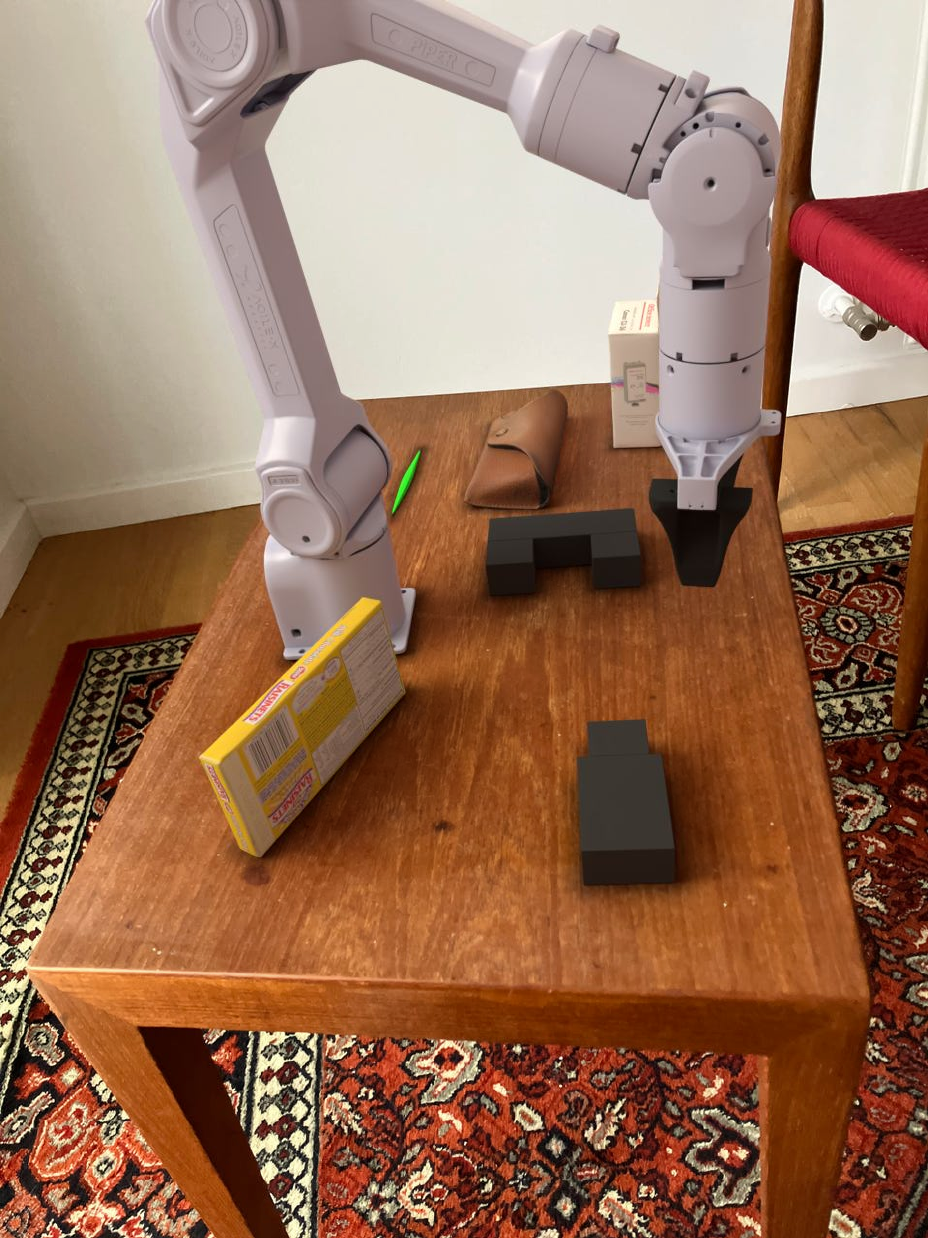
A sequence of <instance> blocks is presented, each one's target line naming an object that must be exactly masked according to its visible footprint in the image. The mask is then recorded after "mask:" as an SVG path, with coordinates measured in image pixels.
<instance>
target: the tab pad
mask: <svg viewBox="0 0 928 1238" xmlns="http://www.w3.org/2000/svg"><path fill="white" fill-rule="evenodd" d="M586 732H587V734H586V735H587V751H588V753H587V754H588V756H577V757H576V768H577V793H578V795H577V796H578V817H579V818H578V819H579V820H578V821H579V843H580V856H581V857H580V859H581V873H582V885H583V886H598V885H599V886H600V885H601V886H605V885H608V886H609V885H646V884H647V885H648V884H649V885H650V884H651V885H652V884H653V885H654V884H674V883H675V875H676V873H675V871H676V870H675V869H676V868H675V867H676V845H675V840H674V839H675V838H674V831H673V825H672V824H673V823H672V818H671V817H672V816H671V809H670V804H669V795H668V794H669V793H668V789H667V782H666V781H667V780H666V774H665V766H664V759H663V754H662V753H650V744H649V735H648V728H647V720H646V718H639V719H638V718H636V719H616V720H615V719H614V720H593V721H586Z"/></svg>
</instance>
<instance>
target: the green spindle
mask: <svg viewBox="0 0 928 1238" xmlns="http://www.w3.org/2000/svg"><path fill="white" fill-rule="evenodd" d="M421 451H422V447H420V449H419V450H418V452H417V453H416V455H415V456H414V459H413V460H412V461H411V463H410V465H409V467H408V468H407V470H406V472H405V474H404V475H403V478H402V480H401V482H400V485H399V488H398V492H397V495H396V498H395V500H394V505H393V507H392V512H391V516H390V518H392V517H393V515H394V514H395V512H396V511H397V509H398V507H399V506H400V504H401V503H402V501H403V499H404V497H405V495H406V493H407V491H408V489H409V487H410V485H411V484H412V480H413V478H414V475H415V472H416V469H417V465H418V462H419V458H420V454H421Z"/></svg>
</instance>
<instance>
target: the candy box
mask: <svg viewBox="0 0 928 1238" xmlns="http://www.w3.org/2000/svg"><path fill="white" fill-rule="evenodd" d="M406 693H407V692H406V688H405V685H404V681H403V677H402V674H401V670H400V667H399V663H398V660H397V655H396V654H395V652H394V648H393V644H392V641H391V637H390V633H389V630H388V626H387V622H386V618H385V615H384V611H383V607H382V603H381V601H380V600H375V599H370V598H365V597H362V598H361V600H360V601H359V602H357V603H356V604H355V605H354V606H353V607H352V608H351V609H350V610H349V611H348V612H347V613H346V614H345V615H344V616H343V617H342V618H341V619H340V620H339V621H338V622H337V623H336V624H335V625H334V626H333V627H332V628H331V629H330V630H329V631H328V632H327V633H326V634H325V635H324V636H323V637H322V638H321V639H320V640H319V641H318V642H317V643H316V644H315V645H314V646H313V647H312V648H311V649H310V650H309V651H308V652H307V653H306V654H304V655H303V656H302V657H301V658H300V659H297V660H296V662H295V663H294V664H293V665H292V666H291V667H289V668H288V670H286V672H285V673H284V674H282V676H281V677H279V678H278V679H277V680H276V682H275V683H273V684H272V685H271V686H270V687H269V688H268V690H267V691H265V692H264V693H263V694H262V695H261V696H260V697H259V698H258V699H257V700H255V702H254V703H252V705H251V706H250V707H249V708H248V709H247V710H246V711H245V712H244V713H243V714H242V715H241V716H240V717H239V718H238V719H236V721H234V722H233V724H231V725H230V726H229V727H228V728H227V729H226V730H225V731H224V732H223V733H222V734H221V735H220V736H219V737H218V738H217V739H216V740H215V741H214V742H213V743H212V744H211V745H210V746H209V747H208V748H207V749H205V750H204V752H203V753H201V754H200V755H199V757H198V758H199V760H200V762H201V765H202V767H203V769H204V772H205V773H206V776H207V778H208V780H209V782H210V785H211V787H212V789H213V791H214V794H215V795H216V798H217V800H218V802H219V804H220V807H221V809H222V811H223V814H224V816H225V817H226V821H227V823H228V825H229V827H230V829H231V831H232V834H233V836H234V838H235V841H236V843H237V845H238V848H239V849H240V850H241V851H243V852H246V853H248V854H249V855H251V856H253V857H255V858H262V857H263V856H264V855H265V853H266V852H267V851H269V849H270V847H272V845H273V844H274V843H275V842H276V841H277V840H278V839H279V838H280V836H281V835H282V834H283V833H285V830H287V828H288V827H289V826H290V825H291V824H292V822H293V821H295V819H296V818H297V817H298V816H299V815H300V814H301V813H302V811H303V810H304V809H305V808H306V806H308V804H309V803H310V802H311V801H312V800H313V799H314V798H315V796H316V795H317V794H318V793H319V792H320V791H321V790H322V788H323V787H324V786H325V785H326V784H327V783H328V782H329V781H330V779H331V778H332V777H333V776H334V775H335V774H336V772H338V770H339V769H340V768H341V767H342V766H343V764H345V762H346V761H347V760H348V759H349V758H350V757H351V756H352V755H353V753H354V752H355V751H356V750H357V749H358V748H359V747H360V745H361V744H362V743H363V742H364V741H365V740H366V739H367V737H368V736H369V735H370V734H371V733H372V732H373V730H375V728H376V727H377V726H378V725H379V724H380V723H381V722H382V721H383V719H384V718H385V717H386V716H387V715H388V714H389V713H390V711H391V710H392V709H393V708H394V707H395V706H396V704H397V703H398V702H399V701H400V700H401V699H402V698H403V696H405V695H406Z"/></svg>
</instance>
